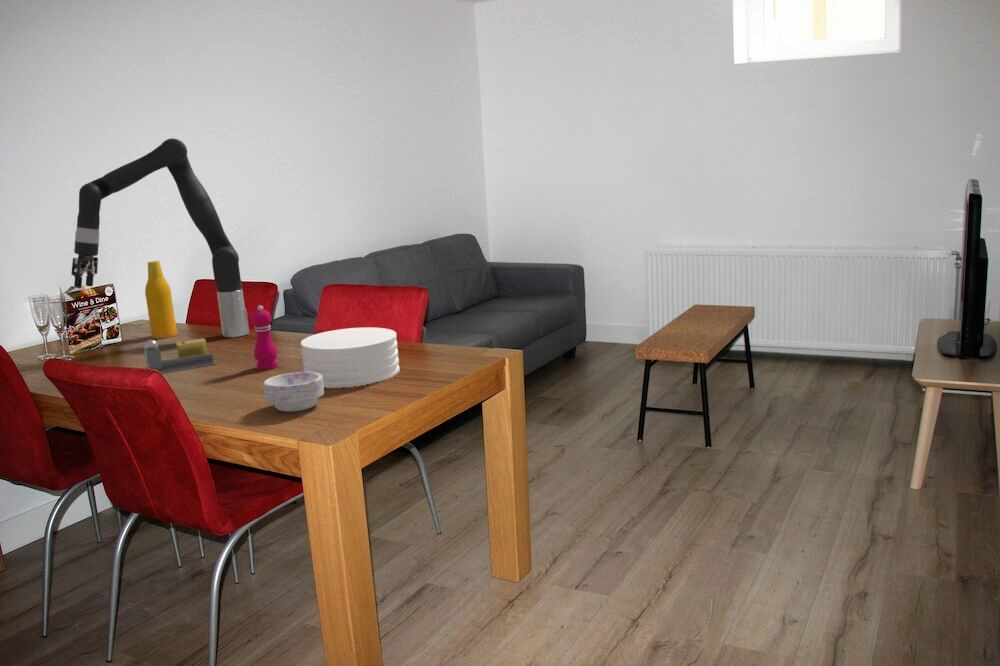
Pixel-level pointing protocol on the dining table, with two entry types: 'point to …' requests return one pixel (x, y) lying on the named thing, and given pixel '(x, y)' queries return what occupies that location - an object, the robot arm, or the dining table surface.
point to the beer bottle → (159, 303)
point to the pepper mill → (264, 340)
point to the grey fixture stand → (174, 360)
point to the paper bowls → (294, 390)
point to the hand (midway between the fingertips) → (83, 287)
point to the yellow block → (191, 347)
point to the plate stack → (351, 356)
